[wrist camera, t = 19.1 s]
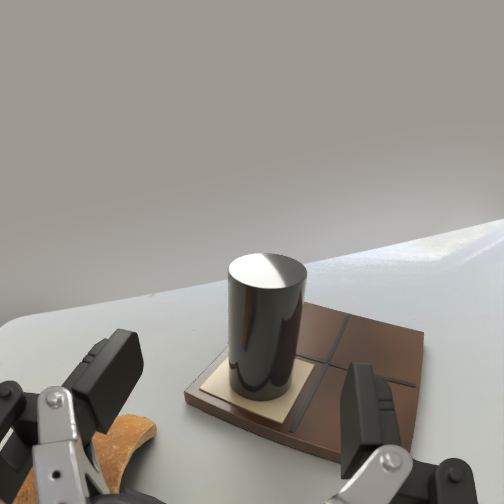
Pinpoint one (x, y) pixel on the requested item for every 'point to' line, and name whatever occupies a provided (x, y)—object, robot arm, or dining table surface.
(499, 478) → the dining table surface
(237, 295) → the dark grey cylinder
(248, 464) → the dining table surface
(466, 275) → the dining table surface
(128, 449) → the pottery shard
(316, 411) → the board
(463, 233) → the dining table surface
